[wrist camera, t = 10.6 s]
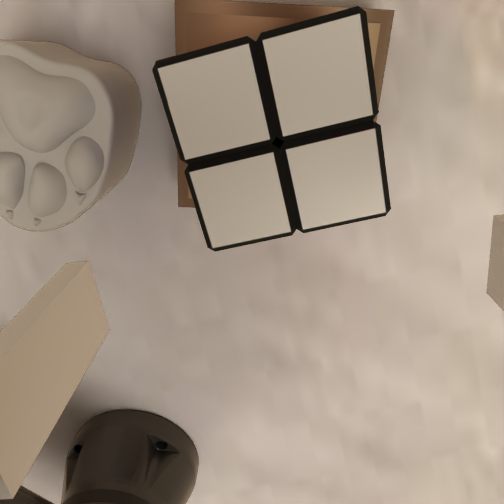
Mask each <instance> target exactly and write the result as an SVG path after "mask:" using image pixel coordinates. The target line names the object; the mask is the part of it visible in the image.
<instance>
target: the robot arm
mask: <svg viewBox="0 0 504 504" xmlns="http://www.w3.org/2000/svg"><path fill="white" fill-rule="evenodd" d="M487 294H488V295H489V296H490V297H491V298H492V299H493V300H494V301H495V302H496V303H497V304H498V305H499V307H500V308H501V309H502V310H503V311H504V215H495V216H493V227H492V238H491V249H490V260H489V271H488V282H487ZM109 330H110V329H109V326H108V322H107V319H106V316H105V313H104V309H103V306H102V303H101V300H100V296H99V293H98V290H97V287H96V283H95V280H94V277H93V274H92V271H91V267H90V264H89V261H83V262H74V263H66V264H65V265H64V266H63V268H62V269H61V270H60V271H59V272H58V273H57V274H56V275H55V276H54V277H53V278H52V279H51V280H50V281H49V282H48V283H47V284H46V285H45V286H44V287H43V288H42V289H41V290H40V291H39V292H38V293H37V294H36V295H35V296H34V297H33V298H32V299H31V300H30V301H29V303H28V304H27V305H26V306H25V307H24V308H23V309H22V310H21V311H20V312H19V313H18V314H17V315H16V316H15V317H14V318H13V319H12V320H11V321H10V322H9V323H8V324H7V325H6V326H5V327H4V328H3V329H2V330H1V331H0V504H54V503H52V502H50V501H48V500H46V499H45V498H43V497H41V496H39V495H37V494H36V493H34V492H32V491H30V490H28V489H27V488H25V487H23V486H21V484H22V482H23V480H24V479H25V477H26V475H27V473H28V472H29V470H30V468H31V466H32V465H33V463H34V461H35V459H36V458H37V456H38V454H39V452H40V451H41V449H42V447H43V445H44V444H45V442H46V440H47V439H48V437H49V435H50V433H51V432H52V430H53V428H54V426H55V425H56V423H57V421H58V419H59V418H60V416H61V414H62V412H63V411H64V409H65V407H66V405H67V404H68V402H69V400H70V398H71V397H72V395H73V393H74V391H75V390H76V388H77V386H78V384H79V383H80V381H81V379H82V378H83V376H84V374H85V372H86V371H87V369H88V367H89V365H90V364H91V362H92V360H93V358H94V357H95V355H96V353H97V351H98V350H99V348H100V346H101V344H102V343H103V341H104V339H105V337H106V336H107V334H108V332H109ZM198 464H199V461H198V454H197V451H196V448H195V446H194V444H193V443H192V441H191V440H190V438H189V437H188V436H187V435H186V434H185V433H184V432H183V431H182V430H181V429H180V428H178V427H177V426H176V425H174V424H173V423H171V422H169V421H167V420H166V419H163V418H161V417H159V416H156V415H153V414H150V413H145V412H140V411H131V410H122V411H113V412H108V413H104V414H101V415H99V416H97V417H94V418H93V419H91V420H89V421H88V422H87V423H85V424H84V425H83V426H82V427H81V429H80V430H79V431H78V433H77V435H76V437H75V439H74V441H73V443H72V445H71V447H70V449H69V451H68V454H67V458H66V466H65V474H64V483H63V491H62V500H61V504H186V502H187V501H188V499H189V497H190V495H191V493H192V491H193V489H194V486H195V483H196V477H197V472H198Z"/></svg>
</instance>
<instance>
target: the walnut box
mask: <svg viewBox="0 0 504 504" xmlns="http://www.w3.org/2000/svg"><path fill="white" fill-rule="evenodd" d="M345 9H348V8H346V7H328V6H310V5H293V4H275V3H257V2H240V1H222V0H175V38H176V55H179V54H183V53H187V52H190V51H194V50H197V49H201V48H205V47H208V46H212V45H215V44H219V43H223V42H226V41H230V40H234V39H237V38H241V37H244V36H248V37H250V38H251V39H253V40H254V41H257V39H258V37H259V35H260V33H261V32H265V31H269V30H272V29H276V28H279V27H283V26H287V25H290V24H294V23H298V22H301V21H305V20H308V19H312V18H316V17H319V16H323V15H326V14H330V13H334V12H337V11H341V10H345ZM362 9H363V8H362ZM363 10H364V11H366V14H367V22H368V30H369V38H370V46H371V54H372V62H373V70H374V78H375V87H376V95H377V103H378V108H379V102H380V95H381V89H382V83H383V77H384V71H385V65H386V59H387V53H388V47H389V41H390V34H391V28H392V22H393V16H394V10H381V9H363ZM376 120H377V115H376V117H375V118H374V120H373V121H375V122H376ZM177 154H178V150H177ZM187 166H188V164H187V163H185V162H183V161H182V160H180V157H179V154H178V207H192V208H195V205H194V202H193V198H192V195H191V192H190V189H189V186H188V182H187V179H186V176H185V173H184V171H185V169H186V168H187Z"/></svg>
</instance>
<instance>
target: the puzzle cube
mask: <svg viewBox="0 0 504 504" xmlns="http://www.w3.org/2000/svg"><path fill="white" fill-rule="evenodd" d="M152 70H153V74H154V77H155V80H156V83H157V86H158V90H159V93H160V96H161V99H162V102H163V106H164V109H165V112H166V115H167V118H168V122H169V125H170V128H171V131H172V134H173V138H174V141H175V144H176V147H177V150H178V154H179V157H180V160H182V161H183V162H185V163H187V164H188V166H187V168H186V169H185V171H184V173H185V176H186V179H187V182H188V186H189V189H190V192H191V195H192V198H193V202H194V205H195V208H196V211H197V214H198V218H199V221H200V224H201V227H202V230H203V234H204V237H205V240H206V243H207V246H208V248H210V249H211V250H213V251H219V250H224V249H229V248H234V247H238V246H243V245H248V244H253V243H257V242H262V241H267V240H272V239H276V238H281V237H286V236H291V235H293V233H294V232H295V230H296V229H298V230H300V231H301V232H303V233H306V232H311V231H315V230H320V229H325V228H330V227H334V226H339V225H344V224H349V223H353V222H358V221H363V220H368V219H372V218H377V217H382V216H386V214H387V213H388V212H389V211H390V209H391V207H390V199H389V191H388V183H387V174H386V166H385V158H384V150H383V142H382V134H381V126H380V125H379V124H377V123H376V122H375V121H373V120H374V118H375V117H376V115H377V114H378V112H379V111H378V103H377V95H376V87H375V78H374V70H373V62H372V54H371V46H370V38H369V30H368V22H367V14H366V11H364V10H363V9H362V8H360V7H359V6H355V7H352V8H348V9H345V10H341V11H337V12H334V13H330V14H326V15H323V16H319V17H316V18H312V19H308V20H305V21H301V22H298V23H294V24H290V25H287V26H283V27H279V28H276V29H272V30H269V31H265V32H261V33H260V35H259V37H258V39H257V41H254V40H253V39H251V38H250V37H248V36H244V37H241V38H237V39H234V40H230V41H226V42H223V43H219V44H215V45H212V46H208V47H205V48H201V49H197V50H194V51H190V52H187V53H183V54H179V55H176V56H172V57H168V58H165V59H161V60H158V61H156V63H155V65H154V67H153V69H152Z"/></svg>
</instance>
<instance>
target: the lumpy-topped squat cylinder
mask: <svg viewBox="0 0 504 504" xmlns="http://www.w3.org/2000/svg"><path fill="white" fill-rule="evenodd" d="M140 118H141V97H140V92H139V89H138V87H137V84H136V82H135V80H134V79H133V77H132V76H131V75H130V73H129V72H128V71H127V70H125V69H124V68H123V67H121V66H119V65H117V64H114V63H110V62H105V61H100V60H95V59H91V58H88V57H85V56H83V55H81V54H79V53H77V52H75V51H74V50H72V49H70V48H68V47H66V46H64V45H61V44H58V43H54V42H38V41H20V40H0V215H1V216H2V217H3V218H4V219H6V220H7V221H8V222H10V223H11V224H13V225H14V226H16V227H19V228H22V229H25V230H29V231H40V232H42V231H49V230H53V229H57V228H60V227H63V226H65V225H68V224H70V223H71V222H73V221H74V220H76V219H77V218H78V217H80V216H81V215H82V214H83V213H84V212H86V211H87V210H88V209H89V208H90V207H91V206H93V205H94V204H95V203H96V202H97V201H98V200H99V199H101V198H102V197H103V196H104V195H105V194H106V193H108V192H109V191H110V190H111V189H112V188H113V187H114V186H116V185H117V184H118V183H119V182H120V181H121V180H122V178H123V177H124V176H125V175H126V174H127V172H128V170H129V167H130V164H131V161H132V158H133V155H134V151H135V147H136V143H137V139H138V133H139V125H140Z"/></svg>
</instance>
